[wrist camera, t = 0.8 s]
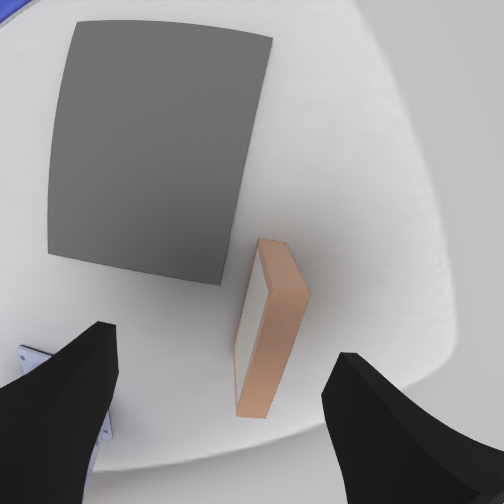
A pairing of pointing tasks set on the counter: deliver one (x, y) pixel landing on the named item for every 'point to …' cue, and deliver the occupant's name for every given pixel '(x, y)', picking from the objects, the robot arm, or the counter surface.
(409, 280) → the counter surface
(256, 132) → the counter surface
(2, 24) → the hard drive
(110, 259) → the mat
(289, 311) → the tile
